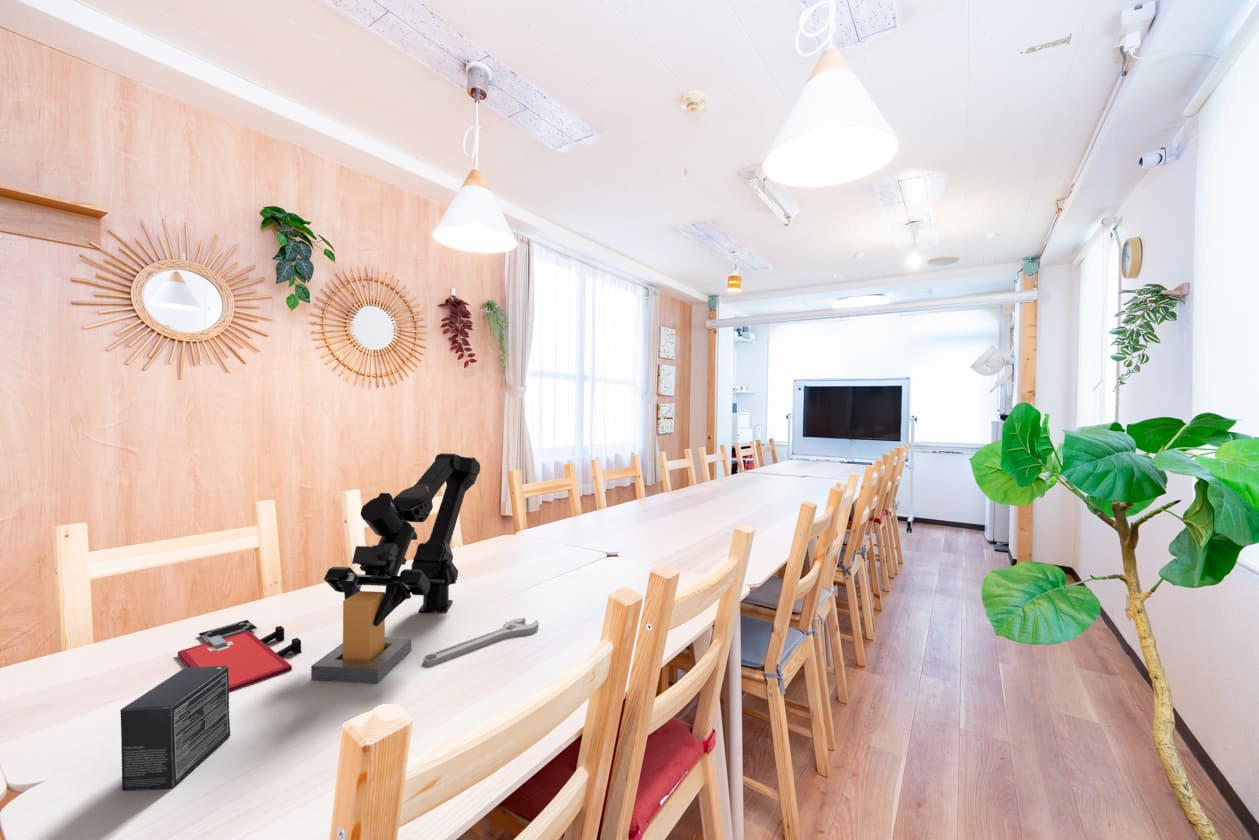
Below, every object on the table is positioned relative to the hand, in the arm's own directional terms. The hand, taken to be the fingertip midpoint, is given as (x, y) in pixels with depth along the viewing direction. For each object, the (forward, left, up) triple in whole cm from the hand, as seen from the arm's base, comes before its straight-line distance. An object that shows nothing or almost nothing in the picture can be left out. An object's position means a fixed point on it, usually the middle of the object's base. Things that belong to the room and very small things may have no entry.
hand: (360, 624), depth 93 cm
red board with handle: (-8, -25, -9) cm, 28 cm away
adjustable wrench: (-9, +20, -9) cm, 24 cm away
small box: (+24, -14, -8) cm, 29 cm away
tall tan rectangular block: (-1, 0, -7) cm, 7 cm away
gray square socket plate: (-1, 0, -8) cm, 8 cm away
